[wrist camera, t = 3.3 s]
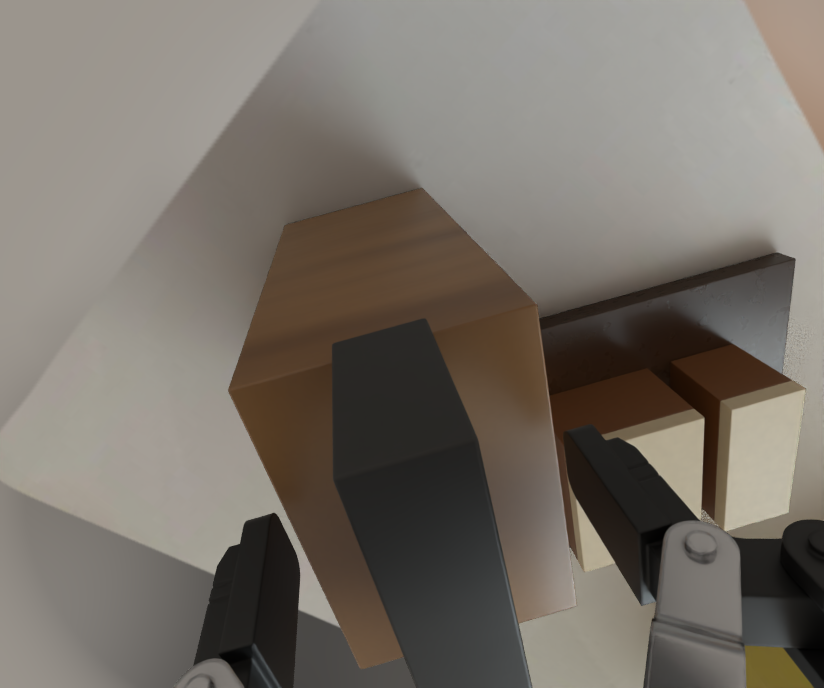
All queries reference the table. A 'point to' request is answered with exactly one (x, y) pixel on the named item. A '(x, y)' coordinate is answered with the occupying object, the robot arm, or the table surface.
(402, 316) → the stand
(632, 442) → the cream-faced brown block
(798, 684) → the cheese
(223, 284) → the table surface
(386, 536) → the knife
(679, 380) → the slice
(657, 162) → the table surface
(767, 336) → the board
